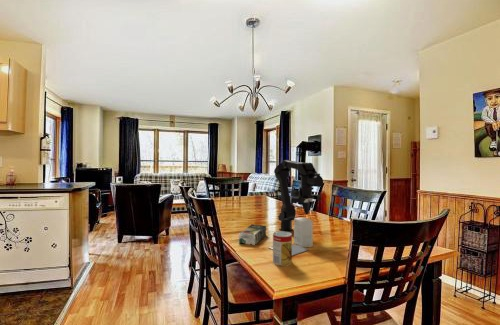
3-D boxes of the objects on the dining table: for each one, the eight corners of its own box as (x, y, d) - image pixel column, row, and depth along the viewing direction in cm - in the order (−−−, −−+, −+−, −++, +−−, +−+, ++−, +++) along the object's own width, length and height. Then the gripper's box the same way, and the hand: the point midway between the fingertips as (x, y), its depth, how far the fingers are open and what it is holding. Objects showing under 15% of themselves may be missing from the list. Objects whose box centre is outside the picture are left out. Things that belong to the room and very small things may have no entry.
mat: (286, 243, 136) (286, 242, 136) (308, 250, 125) (308, 249, 125) (268, 248, 128) (268, 247, 128) (290, 256, 117) (290, 255, 117)
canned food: (295, 262, 111) (295, 233, 111) (284, 267, 105) (284, 237, 105) (280, 257, 116) (280, 230, 116) (269, 262, 110) (269, 233, 110)
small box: (313, 246, 131) (313, 220, 131) (301, 247, 129) (302, 221, 128) (304, 241, 138) (304, 217, 138) (293, 243, 136) (293, 217, 136)
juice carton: (255, 246, 131) (255, 234, 131) (237, 244, 135) (237, 232, 135) (266, 236, 150) (266, 225, 150) (250, 234, 154) (250, 223, 154)
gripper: (305, 184, 156) (306, 210, 155) (283, 185, 144) (283, 214, 144) (321, 185, 147) (321, 213, 147) (299, 186, 135) (299, 217, 135)
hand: (306, 214), depth 143 cm, fingers closed
